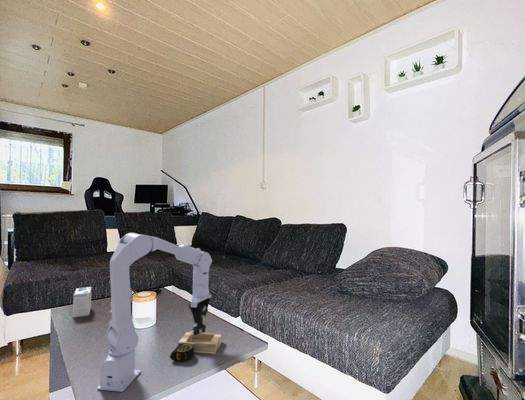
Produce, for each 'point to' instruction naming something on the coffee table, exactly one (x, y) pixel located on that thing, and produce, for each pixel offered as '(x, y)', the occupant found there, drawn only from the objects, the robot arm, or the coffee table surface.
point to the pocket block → (203, 342)
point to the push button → (199, 324)
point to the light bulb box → (82, 302)
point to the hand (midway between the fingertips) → (200, 319)
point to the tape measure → (182, 352)
